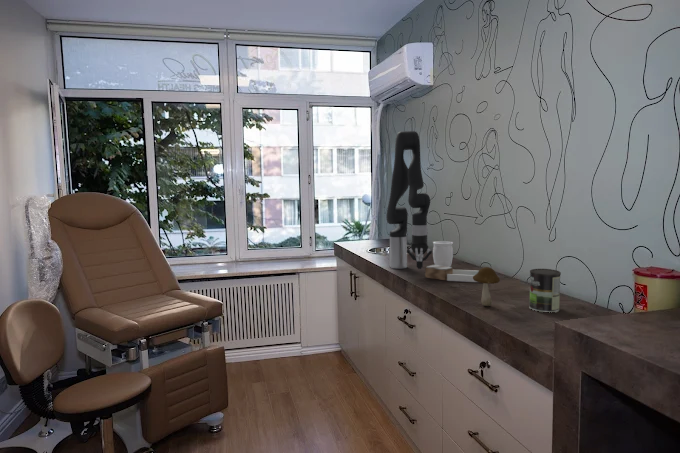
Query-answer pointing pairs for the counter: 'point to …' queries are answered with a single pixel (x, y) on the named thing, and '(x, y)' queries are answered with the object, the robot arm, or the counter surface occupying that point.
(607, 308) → the counter surface
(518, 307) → the counter surface
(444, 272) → the brown and white block
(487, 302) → the mushroom
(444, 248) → the jar
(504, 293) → the counter surface
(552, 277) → the coffee can
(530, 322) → the counter surface
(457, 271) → the bay
